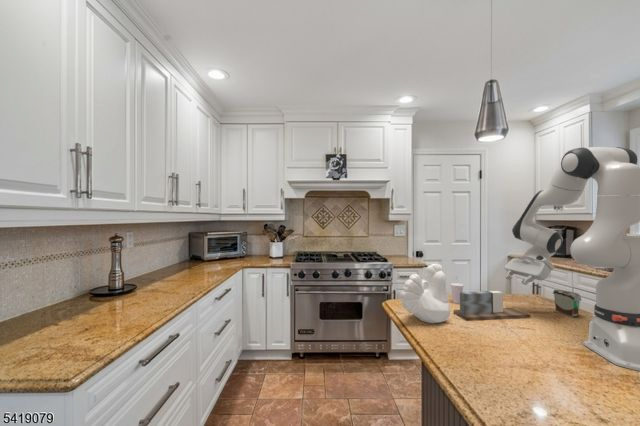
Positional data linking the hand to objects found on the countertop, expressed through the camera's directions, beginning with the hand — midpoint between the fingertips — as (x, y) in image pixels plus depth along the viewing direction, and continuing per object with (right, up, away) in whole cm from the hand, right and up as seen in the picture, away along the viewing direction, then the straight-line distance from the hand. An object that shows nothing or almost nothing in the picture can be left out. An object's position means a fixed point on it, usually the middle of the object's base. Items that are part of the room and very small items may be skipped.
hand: (515, 281), depth 131 cm
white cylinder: (-10, -14, -2) cm, 17 cm away
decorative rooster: (-47, -16, -8) cm, 50 cm away
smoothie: (-19, -16, +18) cm, 30 cm away
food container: (+26, -16, 0) cm, 30 cm away
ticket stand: (-13, -15, -2) cm, 20 cm away
